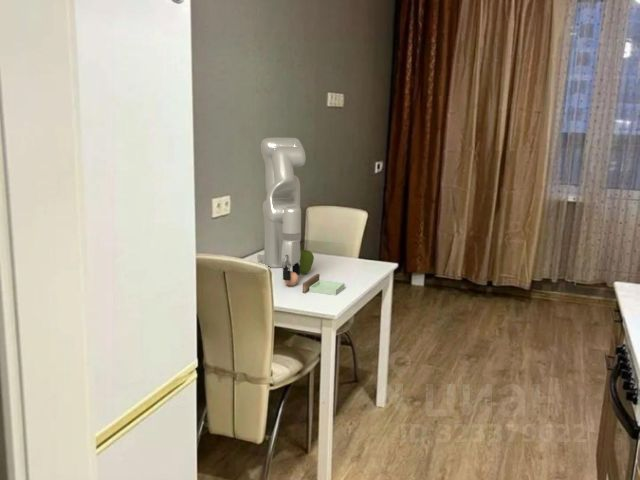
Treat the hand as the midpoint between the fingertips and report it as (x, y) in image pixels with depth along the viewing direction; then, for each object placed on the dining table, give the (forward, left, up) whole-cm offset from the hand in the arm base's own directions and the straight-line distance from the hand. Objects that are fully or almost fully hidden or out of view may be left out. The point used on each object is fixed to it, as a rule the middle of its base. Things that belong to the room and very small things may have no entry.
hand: (291, 277), depth 251 cm
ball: (0, 0, -4) cm, 4 cm away
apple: (-2, +19, -4) cm, 20 cm away
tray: (+16, 0, -4) cm, 16 cm away
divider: (+9, 0, -4) cm, 9 cm away
